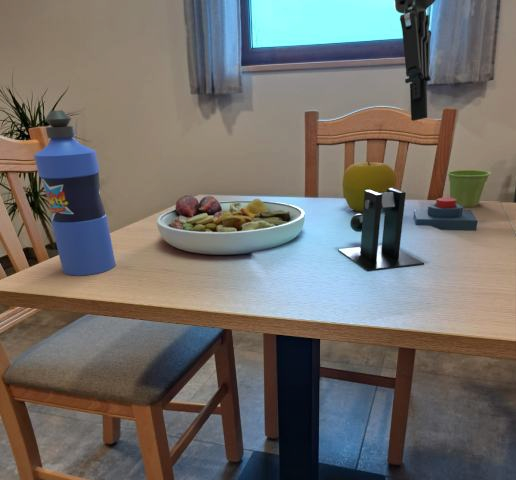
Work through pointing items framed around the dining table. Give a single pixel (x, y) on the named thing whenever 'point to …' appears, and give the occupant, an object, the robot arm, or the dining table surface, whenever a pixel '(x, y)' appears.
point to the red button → (446, 203)
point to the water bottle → (74, 200)
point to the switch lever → (385, 207)
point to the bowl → (229, 225)
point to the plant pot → (467, 186)
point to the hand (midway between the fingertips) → (419, 118)
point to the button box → (446, 218)
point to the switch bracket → (389, 251)
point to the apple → (366, 182)
